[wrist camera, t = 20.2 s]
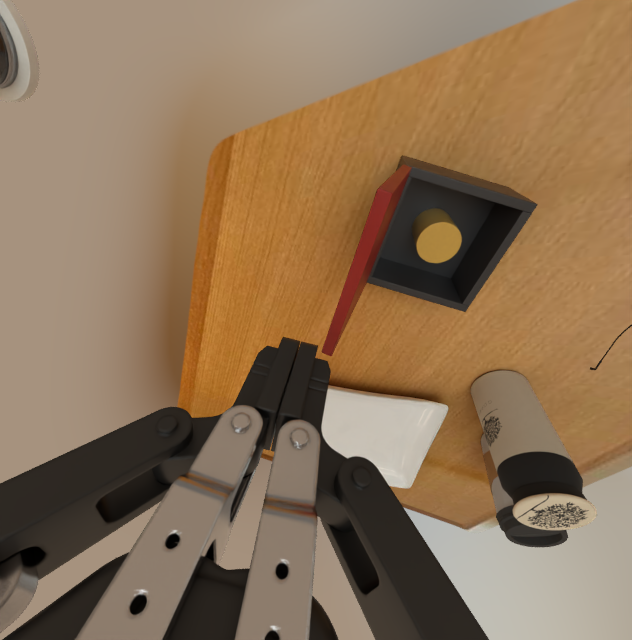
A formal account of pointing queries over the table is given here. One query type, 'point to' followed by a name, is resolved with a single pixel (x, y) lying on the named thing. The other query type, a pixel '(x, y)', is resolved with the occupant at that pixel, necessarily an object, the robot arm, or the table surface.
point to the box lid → (366, 253)
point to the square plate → (382, 430)
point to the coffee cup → (506, 518)
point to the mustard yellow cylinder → (436, 236)
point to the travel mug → (529, 454)
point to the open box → (470, 218)
